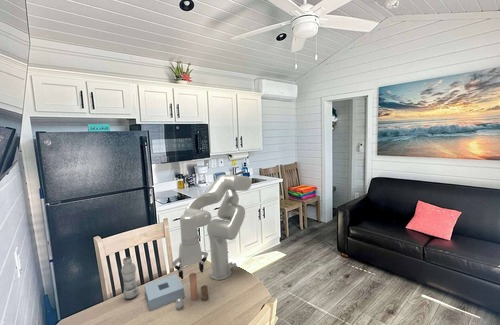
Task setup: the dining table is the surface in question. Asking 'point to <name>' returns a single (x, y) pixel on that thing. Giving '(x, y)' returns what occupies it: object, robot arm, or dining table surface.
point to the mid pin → (204, 293)
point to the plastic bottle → (129, 278)
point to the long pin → (193, 286)
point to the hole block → (163, 291)
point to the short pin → (179, 303)
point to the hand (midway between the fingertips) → (191, 274)
